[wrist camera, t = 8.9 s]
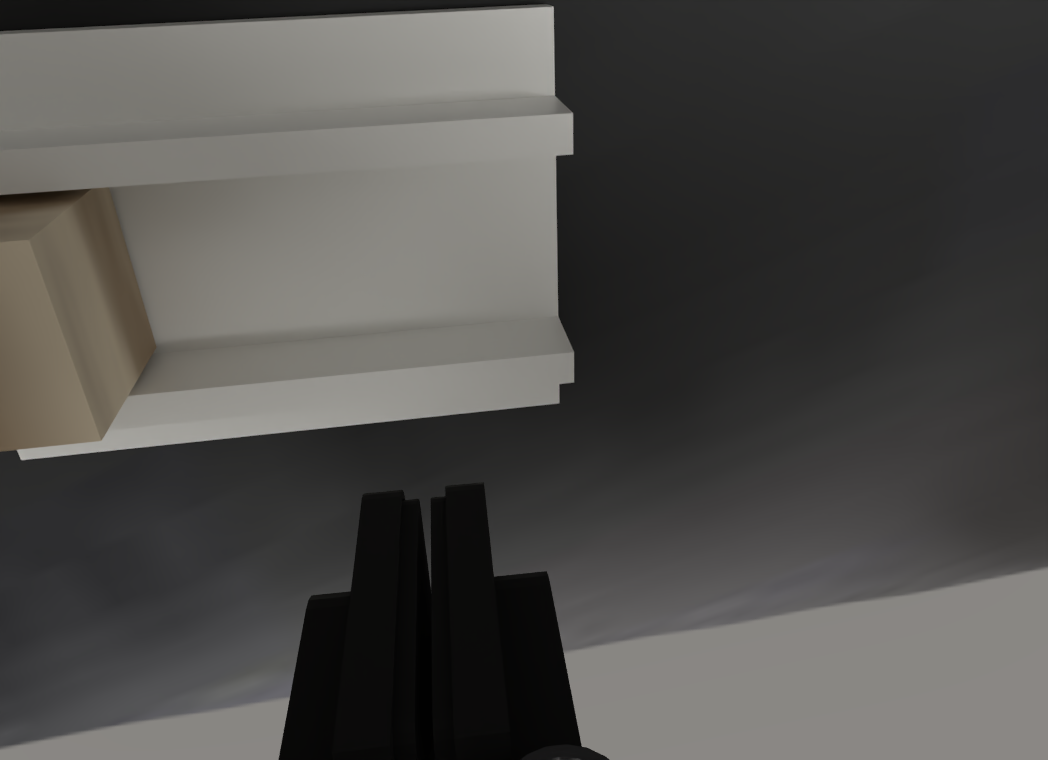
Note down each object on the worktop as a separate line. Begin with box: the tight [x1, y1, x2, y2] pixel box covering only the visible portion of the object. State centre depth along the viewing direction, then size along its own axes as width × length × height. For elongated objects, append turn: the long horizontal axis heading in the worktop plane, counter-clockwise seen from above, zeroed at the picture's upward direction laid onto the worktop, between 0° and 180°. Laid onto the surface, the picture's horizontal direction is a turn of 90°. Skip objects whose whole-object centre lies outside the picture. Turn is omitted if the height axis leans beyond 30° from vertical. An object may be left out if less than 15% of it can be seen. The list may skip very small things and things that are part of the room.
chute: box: [0, 4, 574, 460], centre depth 22 cm, size 17×12×4 cm
